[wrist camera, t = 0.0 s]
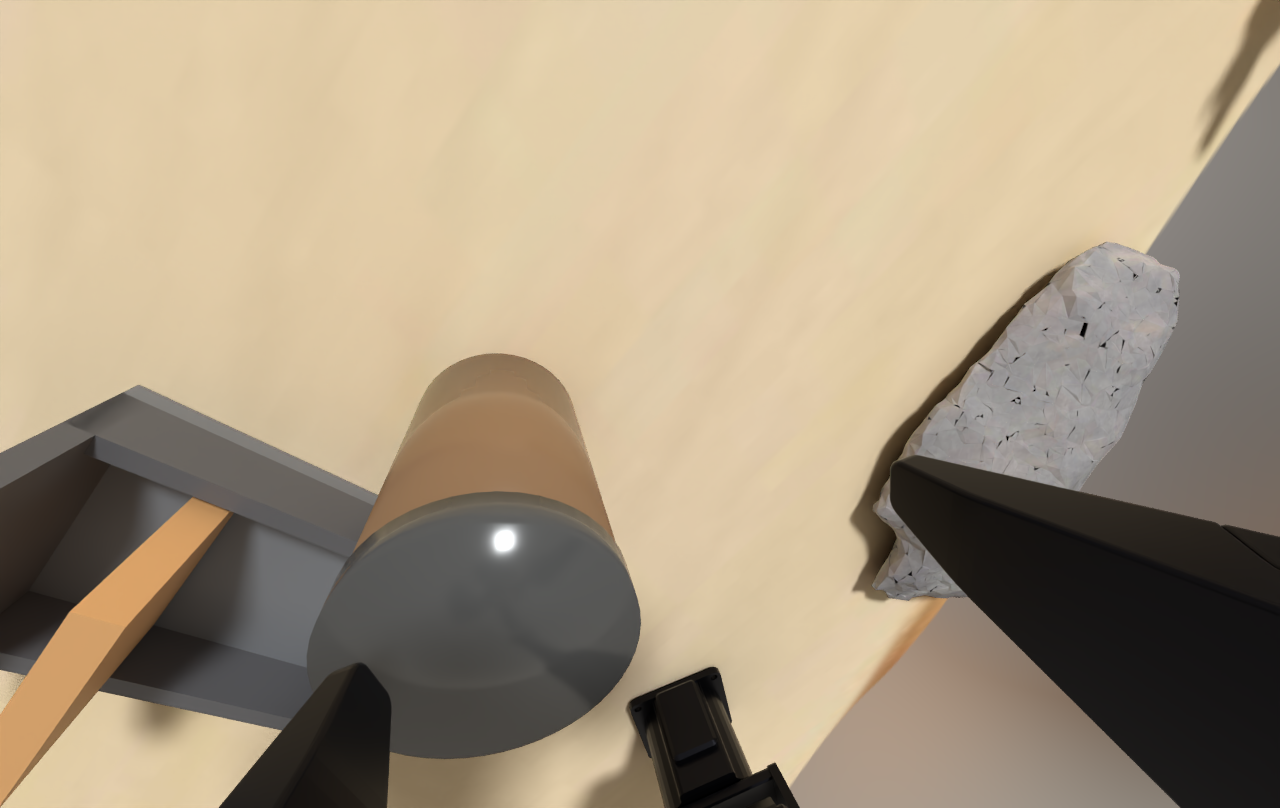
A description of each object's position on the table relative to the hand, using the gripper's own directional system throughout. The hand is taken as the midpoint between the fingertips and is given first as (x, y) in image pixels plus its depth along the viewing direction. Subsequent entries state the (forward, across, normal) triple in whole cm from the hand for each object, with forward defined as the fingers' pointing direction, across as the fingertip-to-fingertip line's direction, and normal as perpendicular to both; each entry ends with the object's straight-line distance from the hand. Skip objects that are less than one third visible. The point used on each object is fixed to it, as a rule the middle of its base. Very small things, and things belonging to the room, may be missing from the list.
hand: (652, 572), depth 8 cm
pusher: (+14, +17, +4) cm, 22 cm away
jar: (+15, +4, +3) cm, 16 cm away
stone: (+15, -24, +14) cm, 32 cm away
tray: (+15, +16, +6) cm, 22 cm away
